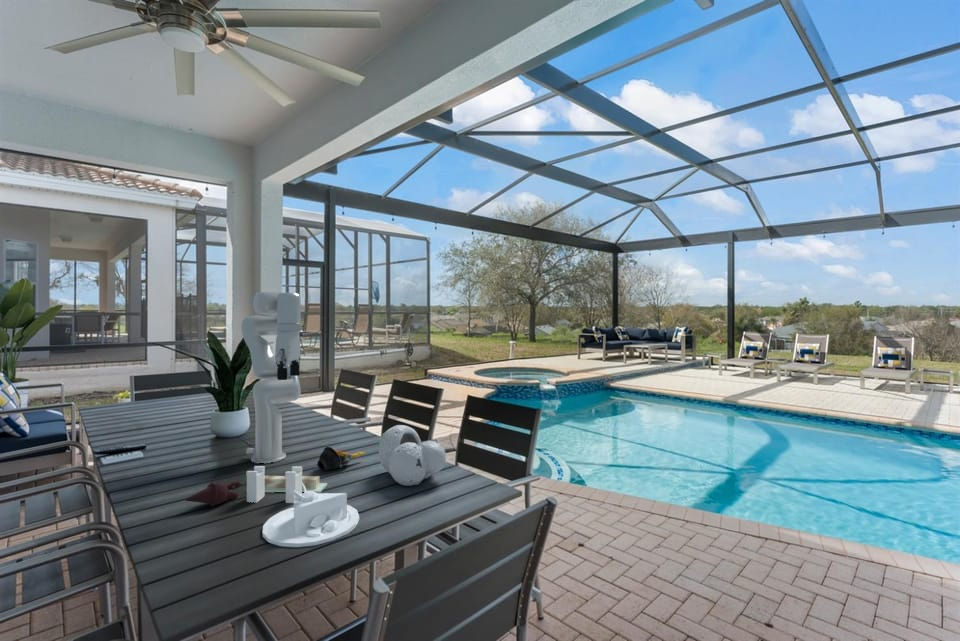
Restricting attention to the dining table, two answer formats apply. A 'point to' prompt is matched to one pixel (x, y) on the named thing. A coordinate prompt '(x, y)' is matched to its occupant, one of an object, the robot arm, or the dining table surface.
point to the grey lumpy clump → (409, 455)
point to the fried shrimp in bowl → (335, 459)
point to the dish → (311, 520)
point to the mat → (317, 490)
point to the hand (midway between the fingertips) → (288, 377)
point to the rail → (280, 482)
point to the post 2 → (293, 483)
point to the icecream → (215, 493)
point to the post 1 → (255, 484)
